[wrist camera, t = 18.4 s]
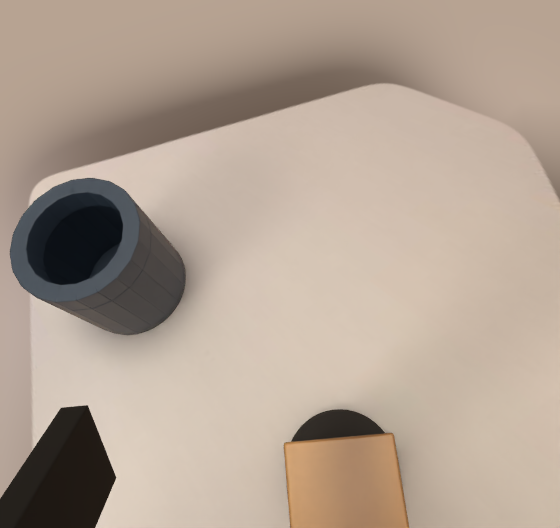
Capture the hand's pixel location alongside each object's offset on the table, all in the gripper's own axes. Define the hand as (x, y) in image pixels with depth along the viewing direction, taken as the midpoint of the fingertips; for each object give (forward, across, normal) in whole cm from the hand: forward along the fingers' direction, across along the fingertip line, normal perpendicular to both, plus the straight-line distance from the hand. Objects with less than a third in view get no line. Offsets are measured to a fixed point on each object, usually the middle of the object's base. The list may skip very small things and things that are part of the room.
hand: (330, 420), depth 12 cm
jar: (+26, -16, -7) cm, 31 cm away
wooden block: (+14, 0, -18) cm, 23 cm away
